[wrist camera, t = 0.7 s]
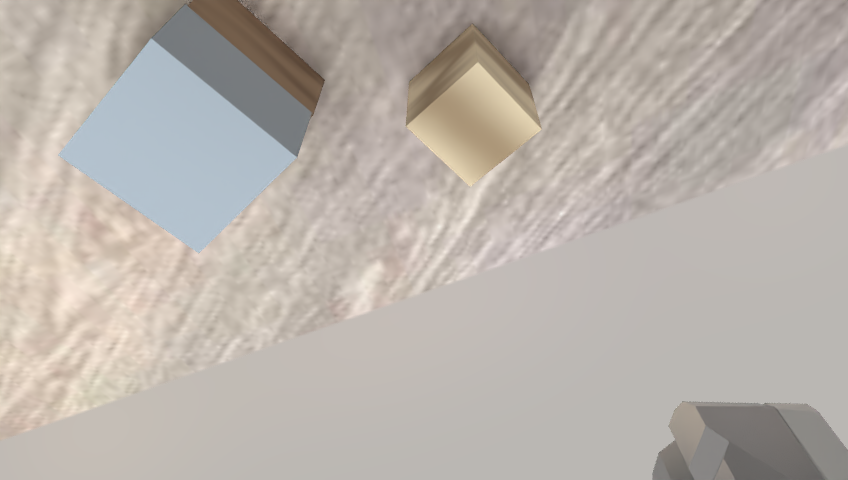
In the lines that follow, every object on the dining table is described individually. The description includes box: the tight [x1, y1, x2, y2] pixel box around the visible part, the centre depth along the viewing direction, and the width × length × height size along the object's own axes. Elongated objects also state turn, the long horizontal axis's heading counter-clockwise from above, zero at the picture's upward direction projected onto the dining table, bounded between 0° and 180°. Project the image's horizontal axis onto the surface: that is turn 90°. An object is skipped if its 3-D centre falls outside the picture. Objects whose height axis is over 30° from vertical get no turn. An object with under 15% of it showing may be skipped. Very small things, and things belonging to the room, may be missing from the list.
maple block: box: [406, 24, 542, 186], centre depth 39 cm, size 5×5×6 cm
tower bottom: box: [188, 0, 325, 118], centre depth 39 cm, size 8×8×5 cm
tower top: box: [58, 4, 312, 253], centre depth 35 cm, size 8×8×5 cm
